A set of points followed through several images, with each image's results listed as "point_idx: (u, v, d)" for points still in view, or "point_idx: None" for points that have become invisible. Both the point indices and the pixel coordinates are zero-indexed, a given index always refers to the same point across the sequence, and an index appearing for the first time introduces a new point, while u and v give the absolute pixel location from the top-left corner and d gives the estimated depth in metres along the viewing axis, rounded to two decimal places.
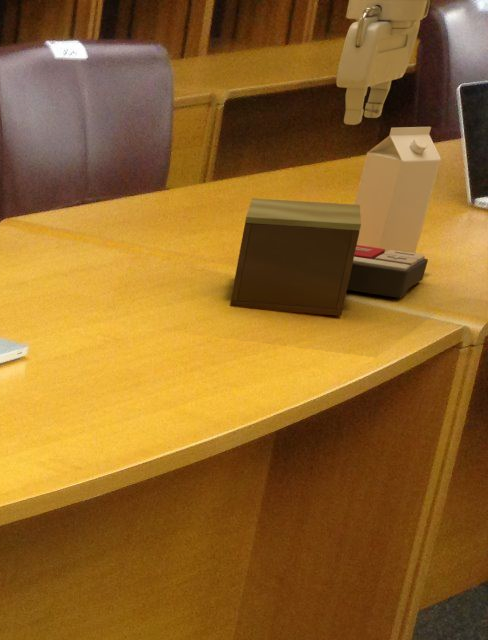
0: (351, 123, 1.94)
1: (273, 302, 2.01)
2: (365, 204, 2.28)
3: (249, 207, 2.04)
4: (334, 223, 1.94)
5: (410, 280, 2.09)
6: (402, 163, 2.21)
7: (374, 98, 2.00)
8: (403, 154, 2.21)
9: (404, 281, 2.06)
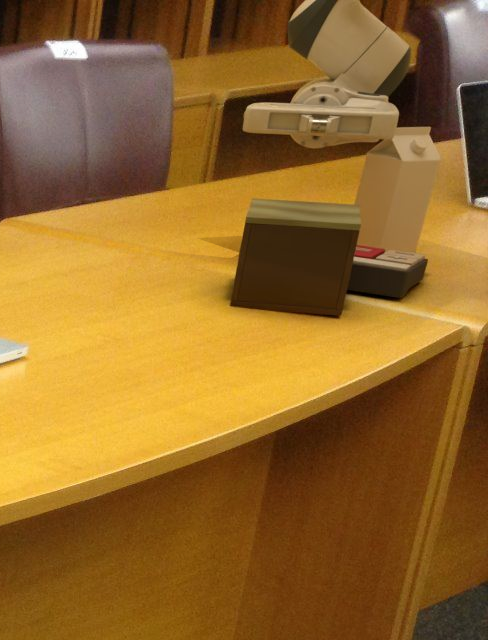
0: (307, 125, 2.15)
1: (273, 302, 2.01)
2: (365, 204, 2.28)
3: (249, 207, 2.04)
4: (334, 223, 1.94)
5: (410, 280, 2.09)
6: (402, 163, 2.21)
7: None
8: (403, 154, 2.21)
9: (404, 281, 2.06)
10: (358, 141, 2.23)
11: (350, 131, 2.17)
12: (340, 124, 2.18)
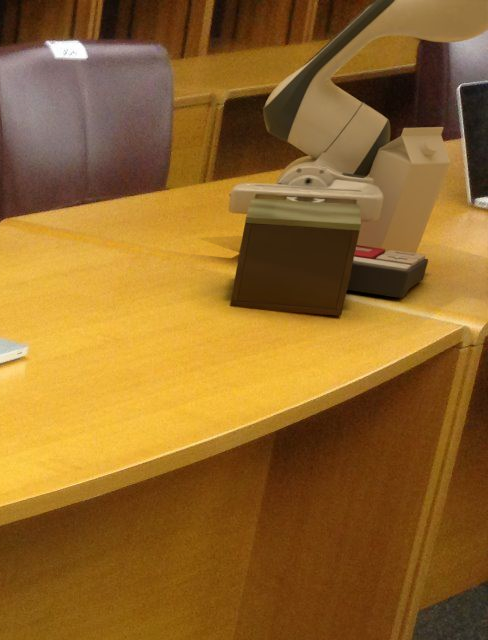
0: None
1: (273, 302, 2.01)
2: None
3: (249, 207, 2.04)
4: (334, 223, 1.94)
5: (411, 280, 2.09)
6: (411, 166, 2.20)
7: None
8: (413, 156, 2.20)
9: (405, 281, 2.06)
10: None
11: None
12: None
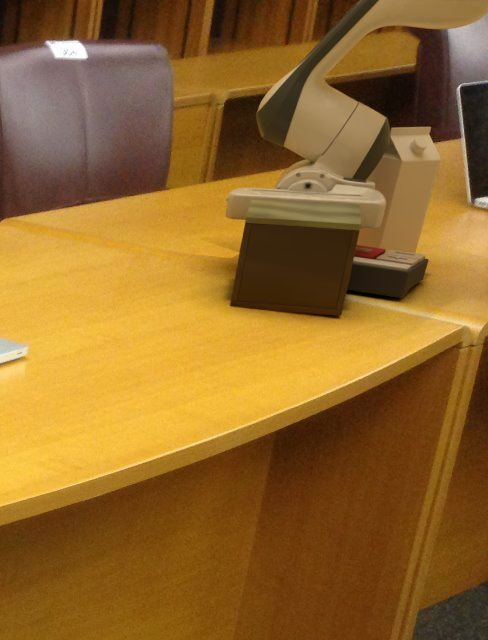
0: None
1: (273, 302, 2.01)
2: None
3: (249, 207, 2.04)
4: (334, 223, 1.94)
5: (411, 280, 2.09)
6: (402, 163, 2.21)
7: None
8: (403, 154, 2.21)
9: (405, 281, 2.06)
10: None
11: None
12: None
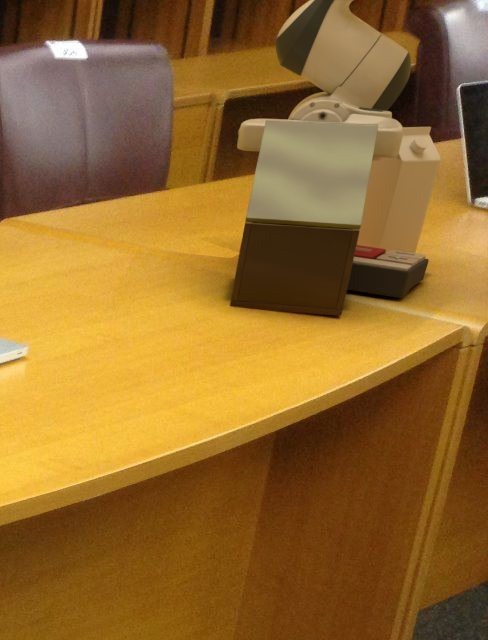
0: None
1: (273, 302, 2.01)
2: (365, 204, 2.28)
3: (256, 170, 2.00)
4: (334, 224, 1.94)
5: (411, 280, 2.09)
6: (402, 163, 2.21)
7: None
8: (403, 154, 2.21)
9: (406, 281, 2.06)
10: None
11: None
12: None
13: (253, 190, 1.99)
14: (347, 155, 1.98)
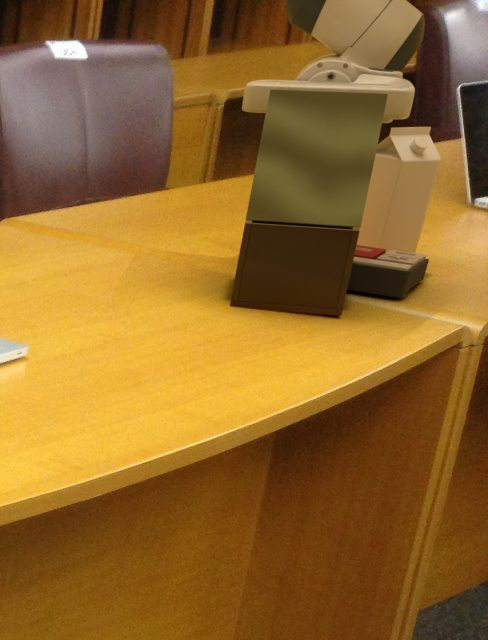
0: None
1: (273, 302, 2.01)
2: (365, 204, 2.28)
3: None
4: (334, 225, 1.94)
5: (412, 280, 2.09)
6: (402, 163, 2.21)
7: None
8: (403, 154, 2.21)
9: (406, 281, 2.06)
10: None
11: None
12: None
13: (254, 183, 1.97)
14: (353, 135, 1.92)
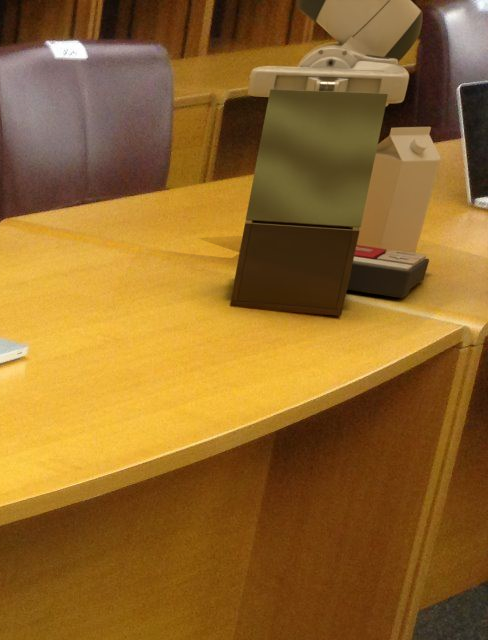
0: (315, 87, 2.08)
1: (273, 302, 2.01)
2: (365, 204, 2.28)
3: None
4: (334, 225, 1.94)
5: (412, 280, 2.09)
6: (402, 163, 2.21)
7: None
8: (403, 154, 2.21)
9: (406, 281, 2.06)
10: None
11: None
12: (348, 87, 2.11)
13: (254, 183, 1.97)
14: (353, 135, 1.92)
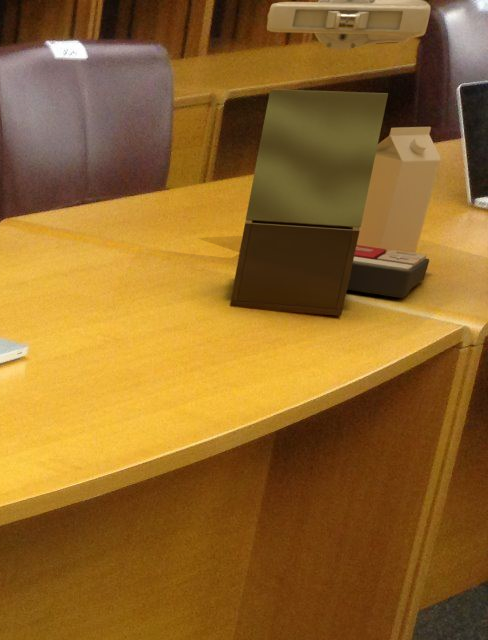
0: (335, 20, 2.06)
1: (273, 302, 2.01)
2: (365, 204, 2.28)
3: None
4: (334, 225, 1.94)
5: (412, 280, 2.09)
6: (402, 163, 2.21)
7: None
8: (403, 154, 2.21)
9: (407, 281, 2.06)
10: (387, 41, 2.15)
11: (379, 28, 2.09)
12: (369, 20, 2.09)
13: (254, 183, 1.97)
14: (353, 135, 1.92)
